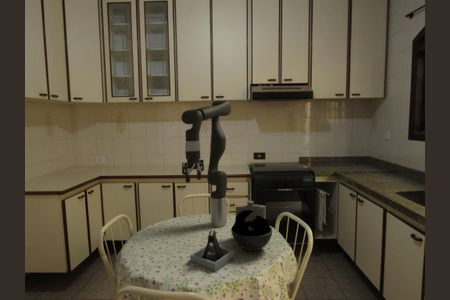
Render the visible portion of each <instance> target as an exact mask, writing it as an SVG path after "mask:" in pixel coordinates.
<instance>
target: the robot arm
mask: <svg viewBox="0 0 450 300" xmlns="http://www.w3.org/2000/svg"><path fill="white" fill-rule="evenodd" d="M231 112H232V105H231V103H230V101H228V100H213V101H212V103H211V105H210V106H209V105H206V106H202V107H198V108H194V109H187V110H185V111H183V112H182V114H181V117H180V118H181V121H182V122H183V123H184V124H185V125H192V126H191V128H188V129H186V130H185V133H184V134H185V147H184V148H185V152H184V153H185V159H186V162H185V161H183V162H182V163H181V174H182V175H184V177H185V183H187V184H190V183H191V172H192V171H194V170H195V171H196V179H197V181H201V180H202V172H204V171H205V165H204V163H205V162H204V159H201V140H200V132H201V127H202V123H203V122H205V121H207V120H209V119H211V123H210V125H211V128H210V129H211V130H210V142H209V143H210V145H209V146H210V147H209V149H210V150H209V161H208V163H209V164H208V169H207V175H206V176H207V177H206V179H207V183H208V184H209V185H210V186H214V187H215V190H213V191H211V192H210V195H209V196H210V226H211V227H214V228H222V227H225V226H226V225H227V224H228V215H227V214H228V213H227V212H228V211H227V210H228V209H227V203H226V201H227V199H226V194H227V190H228V175H227V173H226V172H225V171H222V170H219V163H220V160H221V158H222V156H223V155H224V154H225V151H226V144H227V138H226V135H225V132H224V130H223V128H222V126H221V125H220V124H221V123H220V117H227V116H229V115H230V114H231Z"/></svg>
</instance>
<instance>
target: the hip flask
mask: <svg viewBox="0 0 450 300" xmlns="http://www.w3.org/2000/svg"><path fill="white" fill-rule="evenodd" d="M254 203H255V202H254V201H253V200H246V204H240V205H237V204H236V205H235V217H236V216H237V215H238V213H241V212H242V211H245V210H247V211H248V210H251V211H254V212H252V213H251V214H249V215H248V216H247V218H246V219H245V222H247V221H250V222H252V221H253V220H254V219H256V216H260V217H262V218H265V219H266V217H267V216H266V211H267V209H266V205H261V204H254ZM266 220H267V219H266Z"/></svg>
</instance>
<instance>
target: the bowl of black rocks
mask: <svg viewBox="0 0 450 300" xmlns="http://www.w3.org/2000/svg"><path fill="white" fill-rule="evenodd" d="M252 212H254V211H251V210H248V211H247V210H245V211H242V212H241V213H238V215H237V216H236V215H235V219H234V220H235V221H234V224H233V225H232V227H231V228H230V230H231V235H232V237H233V240H234V242H235V243H236V244H237V245H238V246H239V247H241V248H243V249H244V250H247V251H259V250H261V249H263V248H264V247H266V246H267V245H268V244H269V242H270V241H271V239H272V235H273V228H272V226H271V225H270V223H269V222H268V220H267V219H265V218H262V217H260V216H256V219H254V220H253V221H252V222H250V221H247V222H245V219H246V218H247V216H248V215H249V214H251V213H252Z"/></svg>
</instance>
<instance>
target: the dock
mask: <svg viewBox="0 0 450 300" xmlns="http://www.w3.org/2000/svg"><path fill="white" fill-rule="evenodd" d="M206 246H207V245H205V246H204V247H202V248H200V249H198V250H196V251H195V252H193V253H191V254H190V256H189V257H190V259H189V260H188V263H190V264H192V265H195V266H197V267H201V268H202V269H205V270H209V271H211V272H213V273H217V272H219V270H221V269H222V268H224V267H226V266H227V265H228V264H229V263H230V262H231V261H233V260H235V259H236V255H235V251H234V250H231V249H228V248H226V247H221V246H220V249H221V251H222V254H223V256H222V258H220V259H219V260H217V261H216V262H213V261H210V260H207V259H204V258H202V257H203V254H204V251H205V248H206ZM208 254H215V250H214V247H213V244H212V243H210V246H209V250H208Z"/></svg>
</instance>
